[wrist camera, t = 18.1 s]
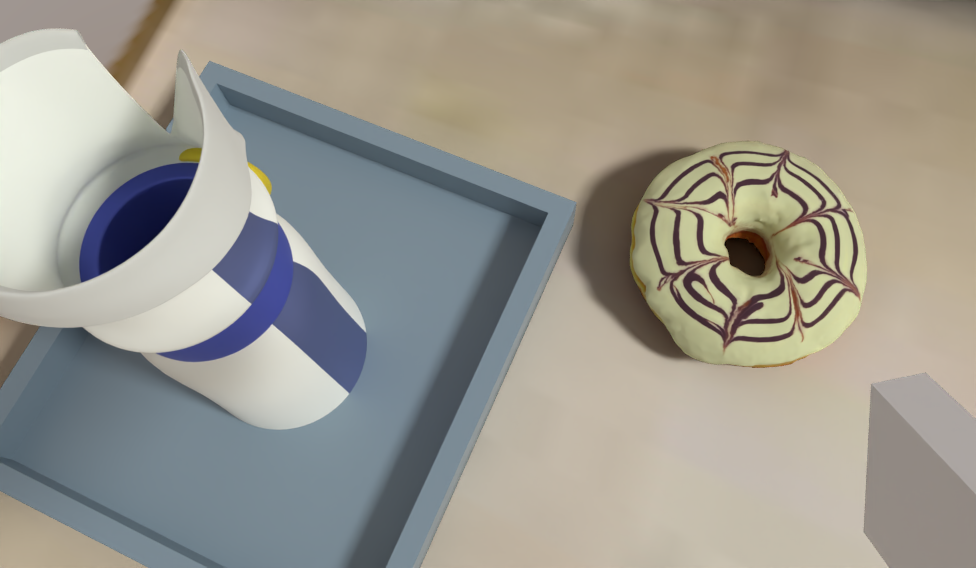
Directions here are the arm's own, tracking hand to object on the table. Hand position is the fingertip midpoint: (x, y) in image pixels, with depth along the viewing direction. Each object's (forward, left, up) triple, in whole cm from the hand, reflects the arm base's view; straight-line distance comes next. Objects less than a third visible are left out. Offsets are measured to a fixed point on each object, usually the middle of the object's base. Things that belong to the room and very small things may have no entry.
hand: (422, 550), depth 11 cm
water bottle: (-5, -13, -24) cm, 28 cm away
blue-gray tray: (-5, -12, -25) cm, 28 cm away
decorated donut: (-17, +6, -25) cm, 31 cm away
